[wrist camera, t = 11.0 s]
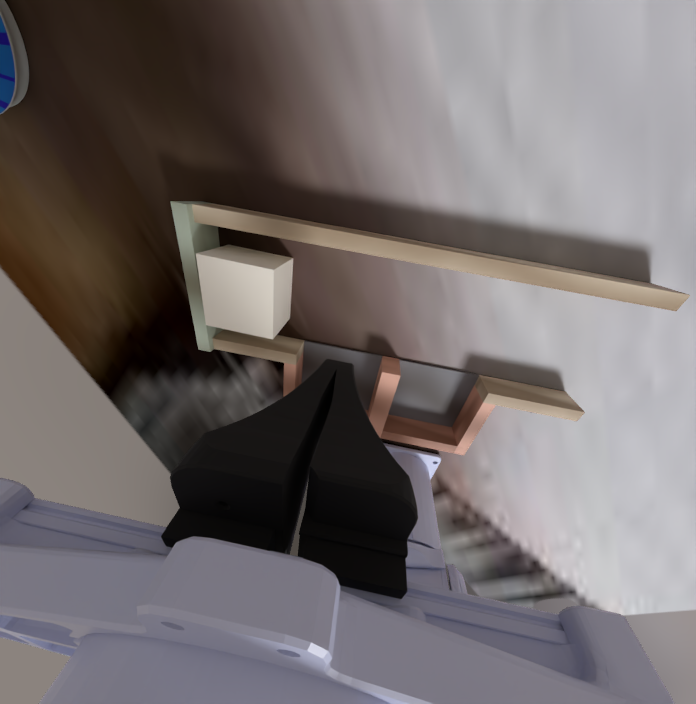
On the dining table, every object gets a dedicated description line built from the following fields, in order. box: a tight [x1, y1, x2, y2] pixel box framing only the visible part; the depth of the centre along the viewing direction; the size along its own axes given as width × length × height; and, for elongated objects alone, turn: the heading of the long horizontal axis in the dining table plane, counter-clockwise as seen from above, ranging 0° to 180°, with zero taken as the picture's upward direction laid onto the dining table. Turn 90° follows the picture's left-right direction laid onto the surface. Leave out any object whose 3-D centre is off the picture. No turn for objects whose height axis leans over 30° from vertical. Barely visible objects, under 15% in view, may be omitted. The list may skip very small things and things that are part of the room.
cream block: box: [196, 245, 293, 339], centre depth 19 cm, size 5×5×4 cm
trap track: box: [170, 201, 690, 455], centre depth 20 cm, size 17×31×3 cm, turn 81°
